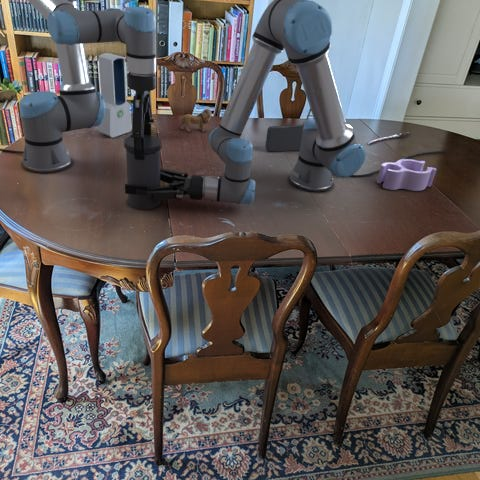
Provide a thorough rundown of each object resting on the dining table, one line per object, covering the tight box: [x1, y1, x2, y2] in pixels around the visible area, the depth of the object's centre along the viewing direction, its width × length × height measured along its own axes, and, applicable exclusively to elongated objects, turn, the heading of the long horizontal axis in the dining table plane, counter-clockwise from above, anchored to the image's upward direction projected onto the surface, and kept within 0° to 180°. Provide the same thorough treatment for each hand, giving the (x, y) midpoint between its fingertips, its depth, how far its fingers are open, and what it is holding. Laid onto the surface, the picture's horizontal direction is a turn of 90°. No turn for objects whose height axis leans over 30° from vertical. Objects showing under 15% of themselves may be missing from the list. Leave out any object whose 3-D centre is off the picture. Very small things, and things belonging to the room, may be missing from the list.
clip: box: [376, 158, 437, 192], centre depth 171 cm, size 20×12×7 cm, turn 109°
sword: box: [367, 133, 409, 145], centre depth 213 cm, size 31×3×1 cm, turn 126°
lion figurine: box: [177, 108, 213, 133], centre depth 197 cm, size 15×5×9 cm, turn 110°
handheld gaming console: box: [264, 124, 304, 152], centre depth 189 cm, size 23×3×10 cm, turn 108°
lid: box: [123, 134, 163, 154], centre depth 134 cm, size 11×11×2 cm
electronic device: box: [96, 52, 133, 139], centre depth 181 cm, size 12×8×30 cm, turn 148°
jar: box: [125, 149, 161, 211], centre depth 139 cm, size 10×10×19 cm
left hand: (143, 151), depth 135 cm, fingers closed on lid, 10 cm apart
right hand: (129, 181), depth 140 cm, fingers closed on jar, 10 cm apart
